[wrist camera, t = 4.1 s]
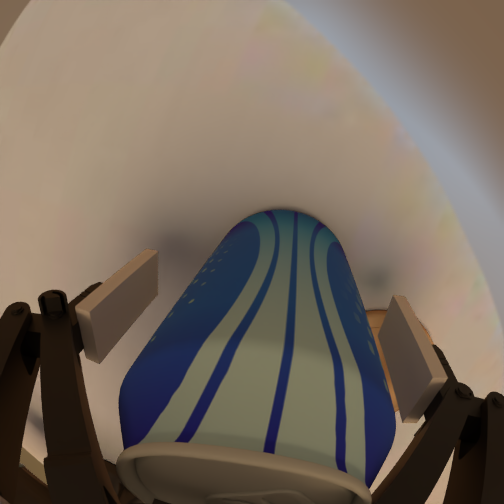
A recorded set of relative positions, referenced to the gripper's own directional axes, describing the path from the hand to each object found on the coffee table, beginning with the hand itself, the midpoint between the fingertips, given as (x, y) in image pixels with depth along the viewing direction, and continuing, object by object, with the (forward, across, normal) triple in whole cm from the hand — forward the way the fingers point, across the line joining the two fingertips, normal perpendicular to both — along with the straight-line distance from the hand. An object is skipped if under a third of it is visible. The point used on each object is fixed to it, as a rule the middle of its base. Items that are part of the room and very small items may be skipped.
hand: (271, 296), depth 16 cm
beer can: (+5, 0, 0) cm, 5 cm away
